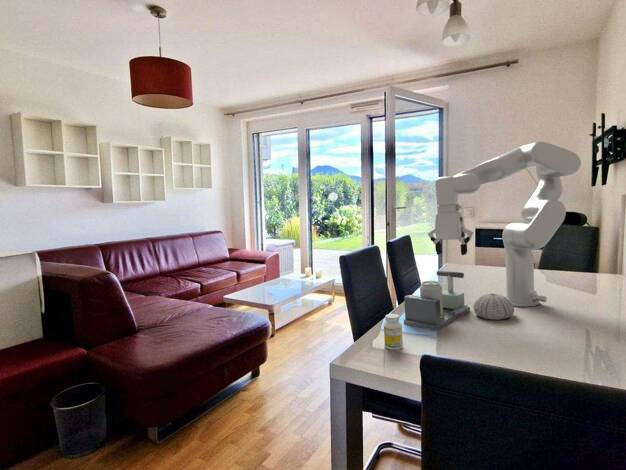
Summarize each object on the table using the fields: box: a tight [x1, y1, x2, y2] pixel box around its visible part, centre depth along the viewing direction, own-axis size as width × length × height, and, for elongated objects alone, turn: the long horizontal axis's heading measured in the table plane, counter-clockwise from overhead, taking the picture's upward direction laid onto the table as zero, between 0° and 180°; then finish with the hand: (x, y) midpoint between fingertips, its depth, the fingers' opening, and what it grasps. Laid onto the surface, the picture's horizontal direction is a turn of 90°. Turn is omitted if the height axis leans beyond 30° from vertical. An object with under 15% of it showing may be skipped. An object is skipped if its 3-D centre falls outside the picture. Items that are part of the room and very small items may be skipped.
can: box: [419, 280, 443, 315], centre depth 131 cm, size 8×8×12 cm
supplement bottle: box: [383, 313, 404, 351], centre depth 110 cm, size 5×5×10 cm
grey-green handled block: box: [436, 269, 465, 309], centre depth 140 cm, size 10×6×13 cm, turn 43°
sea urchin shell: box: [472, 293, 516, 321], centre depth 131 cm, size 13×14×8 cm
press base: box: [403, 294, 471, 331], centre depth 134 cm, size 12×26×10 cm, turn 133°
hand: (451, 254), depth 140 cm, fingers open, 9 cm apart
